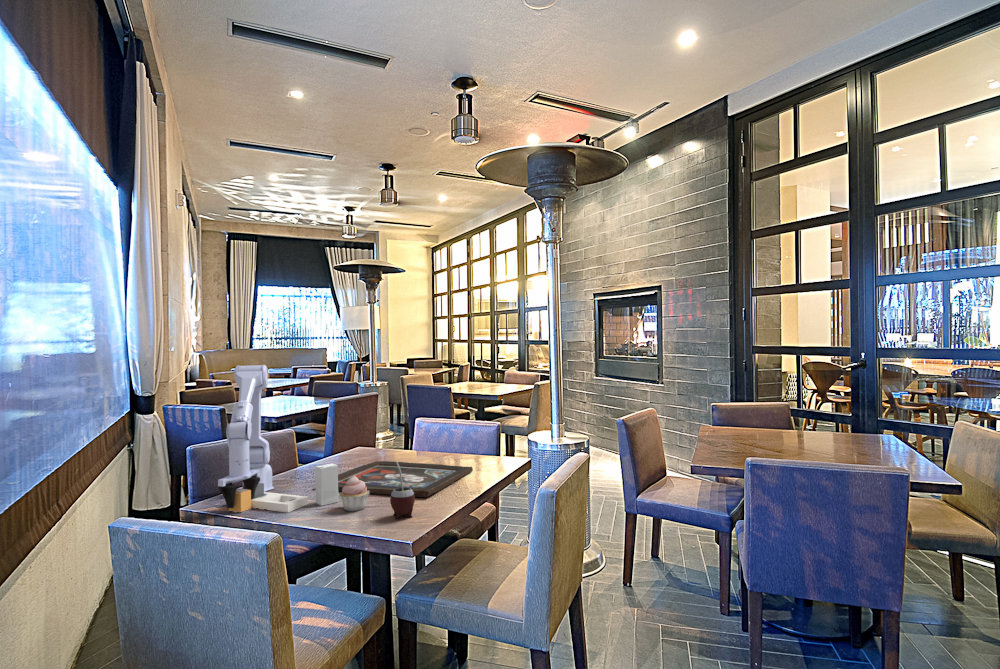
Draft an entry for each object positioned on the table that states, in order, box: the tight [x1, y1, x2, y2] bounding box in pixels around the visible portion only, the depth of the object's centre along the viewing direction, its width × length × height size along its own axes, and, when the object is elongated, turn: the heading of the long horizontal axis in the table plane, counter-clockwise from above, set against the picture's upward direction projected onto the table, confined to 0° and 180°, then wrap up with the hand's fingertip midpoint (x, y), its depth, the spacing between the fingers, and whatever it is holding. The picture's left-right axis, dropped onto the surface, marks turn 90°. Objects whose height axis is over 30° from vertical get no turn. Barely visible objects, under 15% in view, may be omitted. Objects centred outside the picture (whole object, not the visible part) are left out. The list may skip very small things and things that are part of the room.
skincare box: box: [314, 462, 339, 506], centre depth 183 cm, size 6×4×12 cm
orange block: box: [228, 487, 252, 513], centre depth 176 cm, size 4×5×6 cm
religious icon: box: [338, 460, 474, 498], centre depth 211 cm, size 40×45×3 cm
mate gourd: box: [389, 461, 416, 521], centre depth 168 cm, size 8×8×15 cm
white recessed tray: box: [251, 491, 309, 513], centre depth 182 cm, size 9×24×3 cm, turn 69°
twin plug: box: [241, 483, 264, 499], centre depth 184 cm, size 4×5×7 cm
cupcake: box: [338, 476, 370, 512], centre depth 176 cm, size 9×9×10 cm
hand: (239, 504), depth 176 cm, fingers open, 7 cm apart
